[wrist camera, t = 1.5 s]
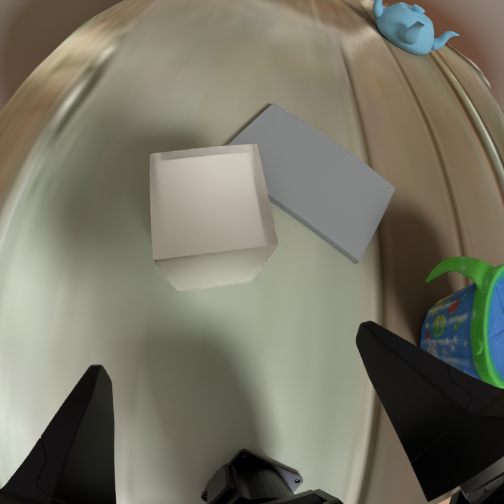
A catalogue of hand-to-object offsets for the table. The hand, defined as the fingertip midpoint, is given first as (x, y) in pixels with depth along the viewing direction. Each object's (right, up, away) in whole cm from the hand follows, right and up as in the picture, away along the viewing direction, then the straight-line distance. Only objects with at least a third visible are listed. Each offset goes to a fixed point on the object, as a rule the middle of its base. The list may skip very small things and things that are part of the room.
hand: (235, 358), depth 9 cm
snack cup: (+20, -5, +16) cm, 26 cm away
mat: (+6, +11, +18) cm, 22 cm away
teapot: (+31, +47, +33) cm, 65 cm away
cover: (-3, +3, +15) cm, 16 cm away
